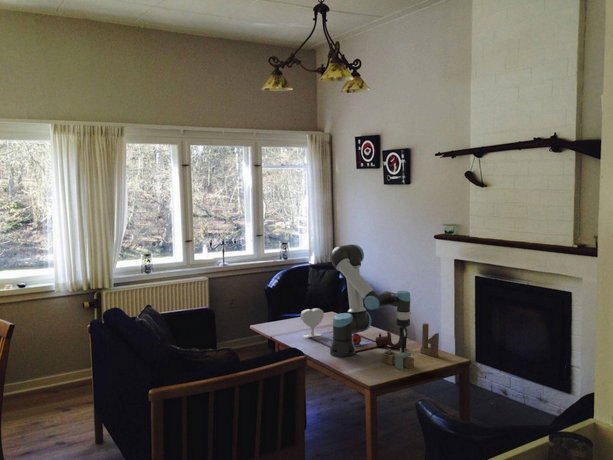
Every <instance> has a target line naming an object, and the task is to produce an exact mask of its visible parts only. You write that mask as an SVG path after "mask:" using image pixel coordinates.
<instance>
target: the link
mask: <svg viewBox="0 0 613 460" xmlns="http://www.w3.org/2000/svg"><path fill="white" fill-rule="evenodd" d="M398 353H399V352H394V351H391V355H389V354H387V350H386V351H384V352H382V353H380V354H381V355H380V363H383V364H388V365H391V366H392V365H395V355H396V354H398ZM414 367H415V358H414V357H413V356H408V357H405V358H403V368H407V369H412V368H414Z"/></svg>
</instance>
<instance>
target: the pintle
mask: <svg viewBox="0 0 613 460" xmlns="http://www.w3.org/2000/svg"><path fill="white" fill-rule="evenodd" d="M386 351H387V354H389V355H391V352H392V348H387V349H386Z"/></svg>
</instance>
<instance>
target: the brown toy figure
mask: <svg viewBox="0 0 613 460" xmlns="http://www.w3.org/2000/svg"><path fill="white" fill-rule="evenodd" d="M386 334H387V335H385V336H382V333H378V336H377V337H375V344H376V347H382V346H384V347H385V346H389V347H391V349H400V344H399V343H400V342H399V341H398V342H397V343H393V341H392V333H391V332H389V331H387V332H386Z"/></svg>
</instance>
